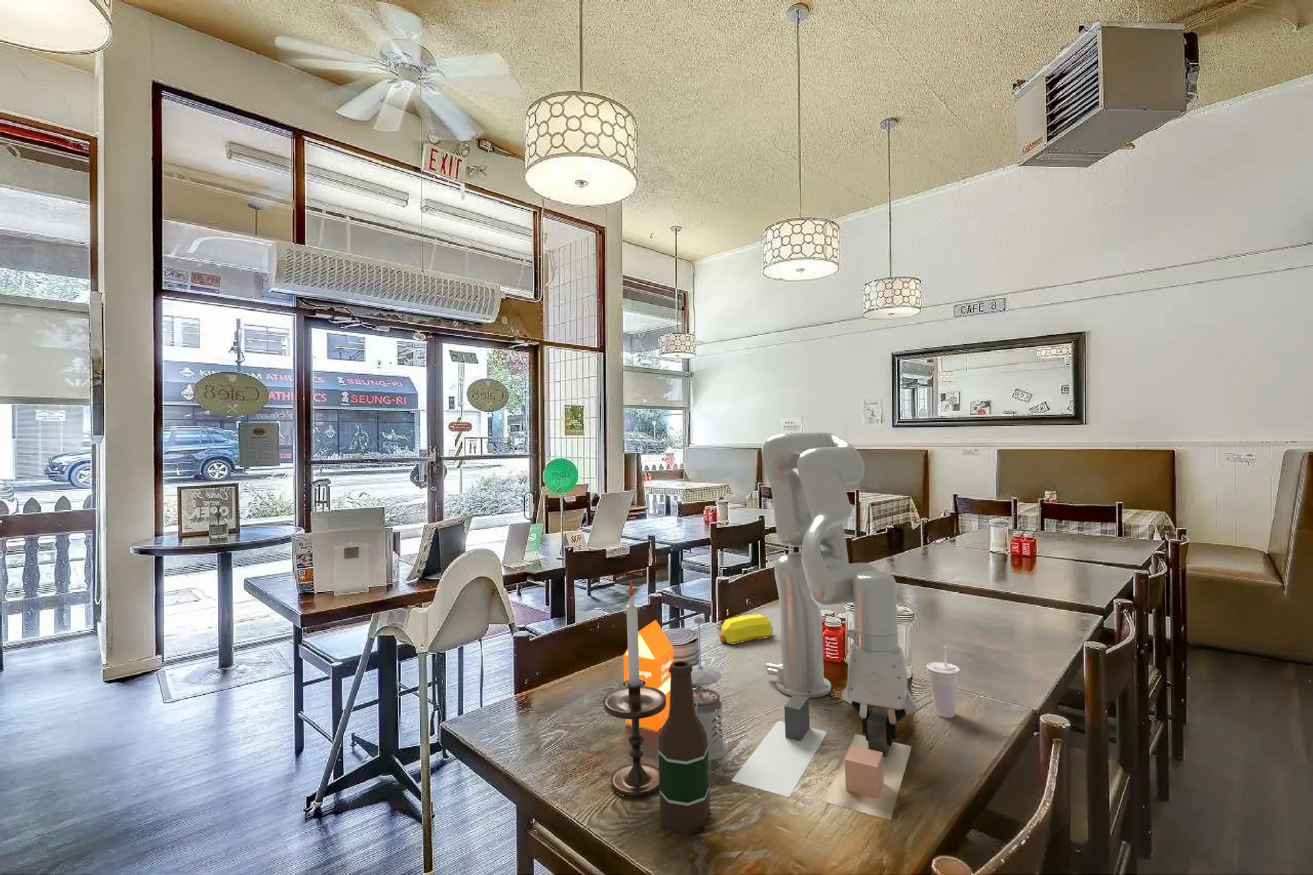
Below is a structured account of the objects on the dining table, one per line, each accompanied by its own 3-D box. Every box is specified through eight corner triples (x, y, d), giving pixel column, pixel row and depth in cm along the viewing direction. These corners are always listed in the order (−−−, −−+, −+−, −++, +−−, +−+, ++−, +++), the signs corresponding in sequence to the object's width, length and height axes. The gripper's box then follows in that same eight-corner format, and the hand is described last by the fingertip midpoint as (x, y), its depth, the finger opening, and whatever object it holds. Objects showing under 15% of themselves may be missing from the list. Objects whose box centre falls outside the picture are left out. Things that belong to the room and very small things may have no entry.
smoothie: (966, 721, 118) (963, 652, 119) (932, 719, 120) (929, 651, 120) (956, 707, 125) (954, 641, 125) (924, 705, 126) (922, 640, 126)
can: (701, 692, 136) (699, 641, 137) (652, 693, 137) (651, 642, 137) (698, 673, 148) (697, 626, 148) (654, 674, 148) (652, 627, 148)
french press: (733, 737, 115) (729, 610, 115) (720, 769, 104) (715, 628, 104) (685, 731, 118) (681, 607, 119) (667, 761, 107) (663, 624, 108)
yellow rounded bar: (713, 640, 173) (726, 648, 166) (713, 617, 173) (726, 624, 166) (765, 631, 180) (779, 638, 173) (764, 609, 180) (778, 615, 173)
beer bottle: (658, 806, 94) (653, 656, 94) (706, 802, 94) (701, 653, 95) (662, 838, 86) (657, 675, 86) (714, 833, 87) (709, 671, 87)
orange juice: (675, 713, 126) (672, 620, 126) (658, 732, 118) (655, 633, 118) (643, 707, 129) (640, 617, 130) (624, 725, 121) (621, 629, 122)
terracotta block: (845, 790, 94) (844, 759, 95) (852, 774, 99) (851, 745, 99) (878, 799, 92) (877, 767, 92) (883, 782, 96) (882, 752, 96)
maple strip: (823, 807, 92) (821, 762, 92) (855, 739, 112) (854, 702, 113) (890, 826, 87) (889, 779, 87) (911, 751, 107) (910, 713, 108)
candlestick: (663, 803, 94) (656, 587, 95) (598, 799, 96) (592, 586, 97) (673, 767, 105) (666, 572, 106) (614, 763, 107) (608, 572, 107)
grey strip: (731, 786, 98) (730, 744, 98) (778, 725, 119) (777, 691, 119) (789, 803, 93) (787, 759, 93) (827, 736, 114) (826, 700, 114)
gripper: (826, 639, 109) (829, 738, 108) (922, 653, 100) (926, 760, 100) (836, 628, 115) (839, 721, 115) (926, 639, 107) (930, 741, 106)
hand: (879, 738), depth 107 cm, fingers closed on maple strip, 3 cm apart
